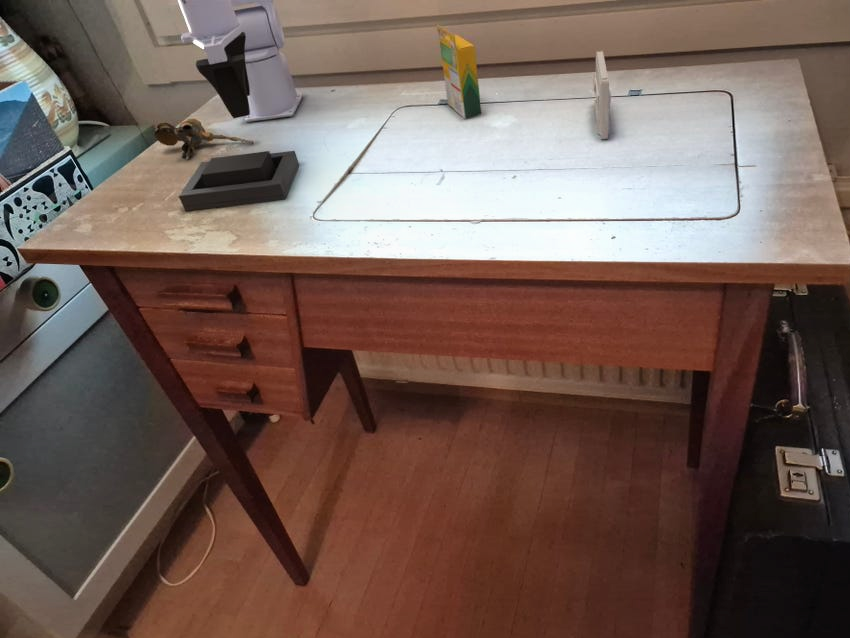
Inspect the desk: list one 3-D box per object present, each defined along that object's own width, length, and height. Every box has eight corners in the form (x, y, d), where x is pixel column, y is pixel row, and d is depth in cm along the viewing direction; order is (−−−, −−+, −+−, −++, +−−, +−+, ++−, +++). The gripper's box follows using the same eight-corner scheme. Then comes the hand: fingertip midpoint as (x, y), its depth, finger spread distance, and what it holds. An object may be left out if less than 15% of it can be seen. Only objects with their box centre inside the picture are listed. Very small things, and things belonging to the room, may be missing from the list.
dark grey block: (276, 171, 90) (269, 150, 88) (268, 188, 86) (260, 167, 84) (219, 178, 90) (211, 157, 88) (209, 195, 86) (200, 174, 84)
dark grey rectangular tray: (207, 176, 93) (201, 161, 91) (299, 165, 92) (294, 150, 90) (185, 211, 85) (178, 195, 84) (285, 199, 84) (279, 183, 83)
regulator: (262, 138, 103) (168, 129, 103) (255, 118, 99) (158, 109, 100) (249, 173, 99) (152, 164, 100) (241, 154, 96) (141, 144, 96)
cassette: (611, 139, 86) (612, 79, 81) (597, 140, 86) (597, 81, 81) (605, 105, 95) (606, 49, 90) (592, 106, 95) (592, 50, 90)
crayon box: (483, 114, 98) (473, 30, 90) (464, 119, 97) (453, 35, 90) (465, 100, 103) (454, 19, 96) (447, 104, 102) (435, 24, 95)
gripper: (171, -18, 81) (213, 94, 90) (158, 8, 70) (207, 132, 79) (228, -28, 82) (264, 83, 91) (224, -4, 71) (266, 120, 80)
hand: (242, 105), depth 85 cm, fingers open, 7 cm apart
